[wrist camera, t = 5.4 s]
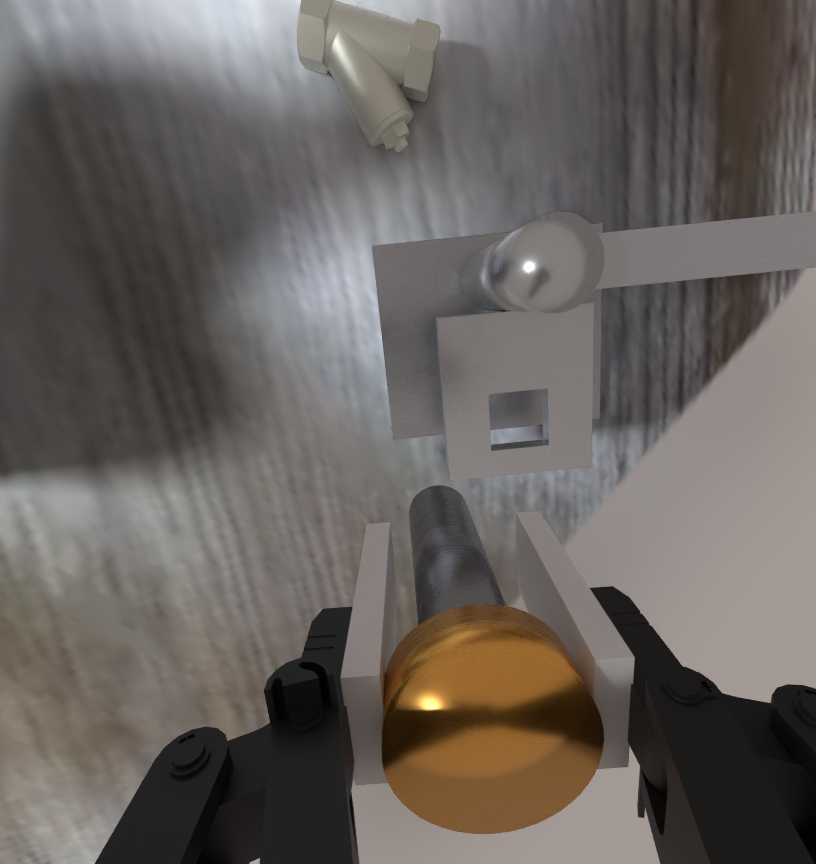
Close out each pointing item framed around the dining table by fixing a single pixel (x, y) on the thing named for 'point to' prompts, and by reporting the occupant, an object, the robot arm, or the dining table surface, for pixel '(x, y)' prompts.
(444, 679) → the gold knobbed rod
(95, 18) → the dining table surface
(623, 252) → the grey lever mechanism
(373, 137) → the pipe fitting
